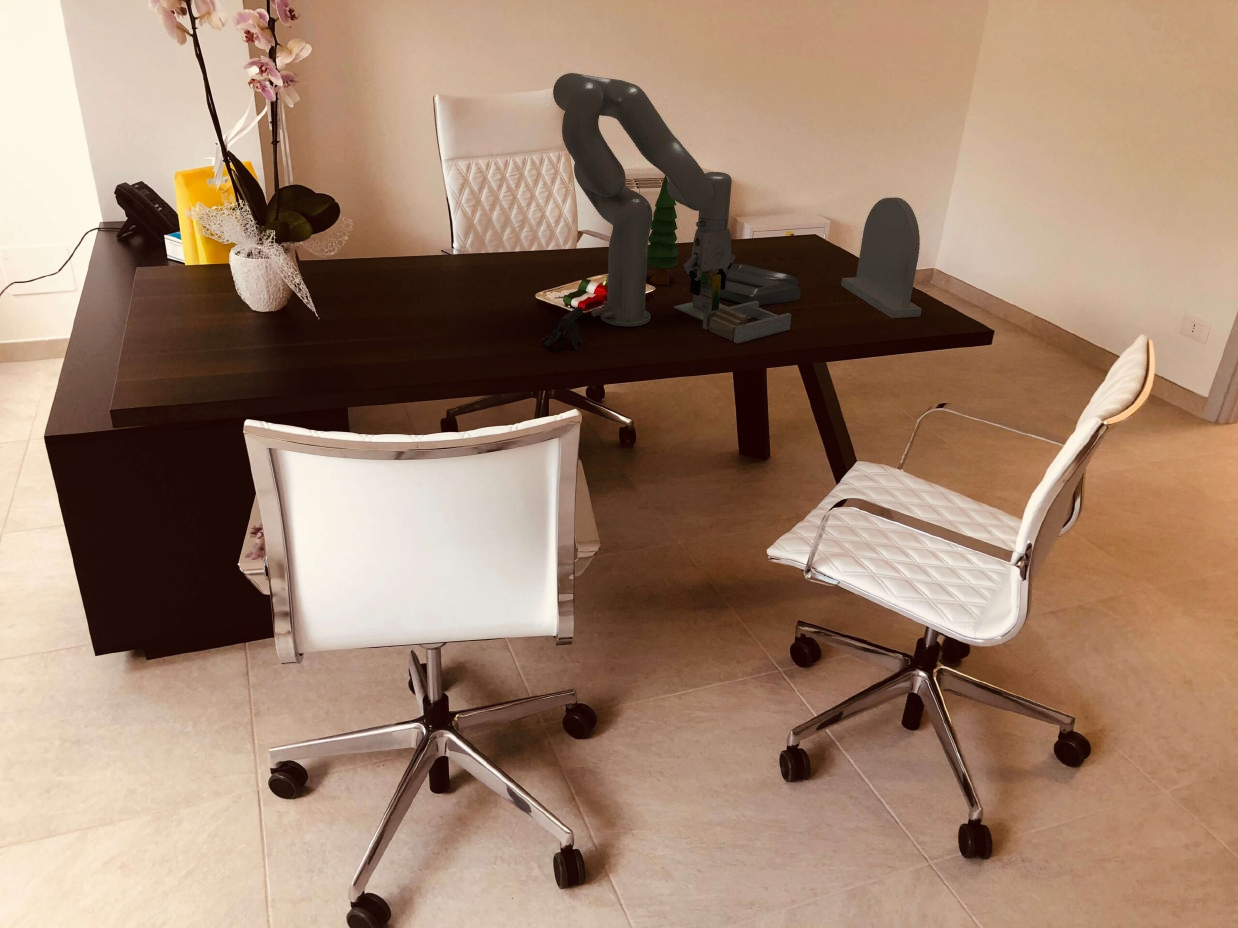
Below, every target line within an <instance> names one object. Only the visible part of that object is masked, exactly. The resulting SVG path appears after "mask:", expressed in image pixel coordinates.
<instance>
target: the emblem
mask: <svg viewBox="0 0 1238 928" xmlns="http://www.w3.org/2000/svg"><path fill="white" fill-rule="evenodd" d="M728 271H729V273H728V274H727V275H726V285H725V290H722V289H720V299H723V300H727V301H731V302H735V303H738V304H744V303H748V302H753V301H758V302H759V306H768V305H776V304H781V303H783V304H784V303H789V302H796V301H799V300H800V297H801V287H799V286H798V284H799V281H798V279H797V277H795V276H793V275H791V274H788V273H783V272H779V271H774V270H770V269H767V268H766V269H765V268H761V267H757V266H752V265H748V264H745V263H735V264H734V263H732V266H731V268H730V269H729V270H728ZM717 272H719V271H718V270H714V273H717Z"/></svg>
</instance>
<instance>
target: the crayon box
mask: <svg viewBox="0 0 1238 928" xmlns="http://www.w3.org/2000/svg"><path fill="white" fill-rule="evenodd" d="M697 272H698V270H697V271H696V274H697ZM699 280H701V287H700V295H698V296H697V295H694V294H692V295H693V296H692V297H693V298H692V302H693V306H694V307H697V308H700V309H702V310H704V311H707V312H711V311H715V310H719V303H720V299H721V298H720V286H721V275H719V274H716V273H714V270H713V269H712V270H711V271H709V272H703V273H702V275H701V277H700V279H699Z"/></svg>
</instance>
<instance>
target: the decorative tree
mask: <svg viewBox="0 0 1238 928" xmlns="http://www.w3.org/2000/svg"><path fill="white" fill-rule="evenodd" d="M668 181H669V179H668V177H667V176H666V175H665V174H664V178H663V181H662V183H661V186H660V191H659V194H658V197H657V200H656V202H655V205H654V207H655V209H654V211H653V213H652V214H653V218H652V225H651V229H650V234H649V240H648V252H647V266H649V267H654V268H655V272H654V274H653V275H652V276H651V278H650V279H649V281H650V282H651V283H652V284H655V285H670V283H671V279H670V276H669V273H668V268H674V267H675V266H677V265H678V264H679V262H678V260H677V256H680V252H679V250H678V248H677V245H676V242H677V240H678V237H677V234H676V230H678V225H677V221H676V219H678V215H677V212H676V208H675V206H677V202H676V201H675V200H673V199H672V198H671V197H670V195H669V194H668V191H667V184H668Z"/></svg>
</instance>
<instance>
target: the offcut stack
mask: <svg viewBox="0 0 1238 928" xmlns="http://www.w3.org/2000/svg"><path fill="white" fill-rule="evenodd" d="M747 323H748V319H747V316H746V315H743V314H741V313H738V312H736V311H733V310H731V309H728V308H726V307H722V308H720V312H717V313H715V317H712V318H710V329H708V330H709V332H711V333H713V334H714V335H718V336H720V337H722V338H724V339H727V340H728V339H729V341H731V342H732V341H733V342H734V335H735V326H739V325H743V324H747Z"/></svg>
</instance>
